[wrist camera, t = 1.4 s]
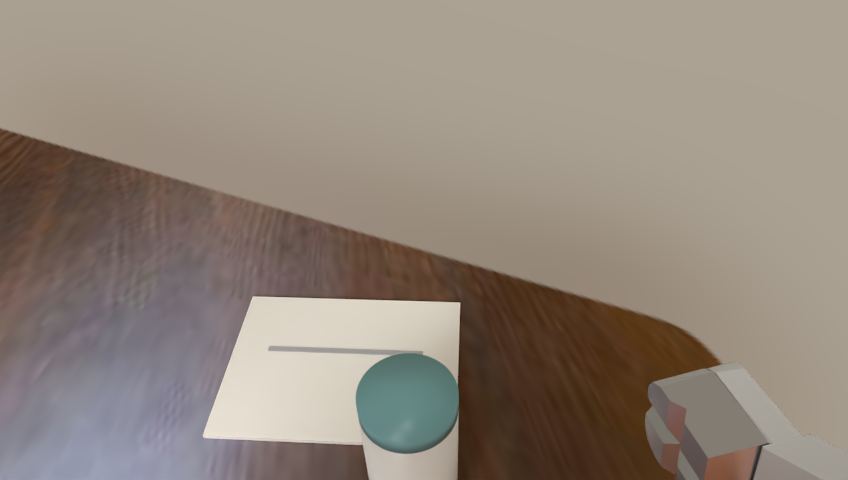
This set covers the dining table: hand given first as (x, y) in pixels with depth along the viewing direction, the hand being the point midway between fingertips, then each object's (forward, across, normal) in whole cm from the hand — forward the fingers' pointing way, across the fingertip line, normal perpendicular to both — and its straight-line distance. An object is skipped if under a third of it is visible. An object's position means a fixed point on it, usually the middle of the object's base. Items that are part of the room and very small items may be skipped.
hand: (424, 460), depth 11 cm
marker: (+13, +1, +24) cm, 28 cm away
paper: (+25, +4, +23) cm, 34 cm away
